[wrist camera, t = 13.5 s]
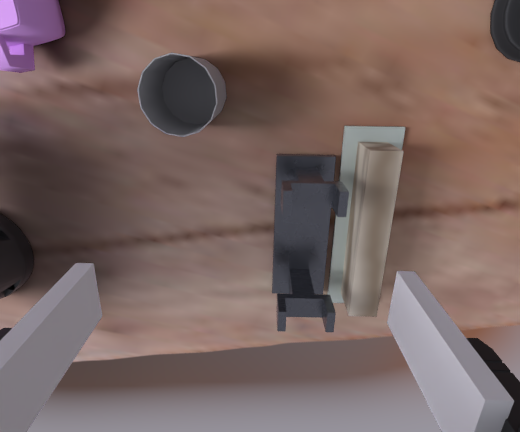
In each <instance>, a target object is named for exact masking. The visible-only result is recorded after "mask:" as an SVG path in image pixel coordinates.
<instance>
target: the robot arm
mask: <svg viewBox="0 0 520 432" xmlns="http://www.w3.org/2000/svg"><path fill="white" fill-rule="evenodd" d="M33 262H34V261H33V253H32V249H31V246H30V244H29V242H28V240H27V238H26V237H25V235H24V234H23V233H22V231H21V230H20V229H19V228H18V227H17V226H16V225H15V224H14V223H13V222H12V221H10V220H9V219H8V218H6V217H5V216H3V215H1V214H0V299H1V298H3V297H6V296H8V295H10V294H12V293H13V292H15V291H16V290H17V289H18V288H19V287H20V286H22V285H23V284H24V283H25V282H26V281H27V280H28V278H29V277H30V275H31V272H32V269H33ZM101 317H102V311H101V305H100V299H99V293H98V287H97V280H96V274H95V268H94V263H75V264H74V265H73V266H72V267H71V268H70V269H69V271H68V272H67V273H66V274H65V275H64V276H63V277H62V278H61V279H60V280H59V281H58V282H57V283H56V284H55V285H54V286H53V287H52V288H51V289H50V290H49V291H48V292H47V293H46V294H45V295H44V296H43V297H42V298H41V299H40V300H39V301H38V302H37V303H36V304H35V305H34V306H33V307H32V308H31V309H30V311H29V312H28V313H27V314H26V315H25V316H24V317H23V318H22V319H21V320H20V321H19V322H18V323H17V324H16V325H15V326H14V327H13V328H3V329H1V330H0V432H27V431H28V429H29V428H30V426H31V424H32V423H33V422H34V420H35V418H36V417H37V415H38V414H39V412H40V411H41V409H42V408H43V406H44V405H45V403H46V402H47V400H48V399H49V397H50V395H51V394H52V392H53V391H54V389H55V388H56V386H57V385H58V383H59V381H60V380H61V379H62V377H63V376H64V374H65V372H66V371H67V369H68V368H69V366H70V365H71V363H72V362H73V360H74V359H75V357H76V356H77V354H78V353H79V351H80V350H81V348H82V347H83V345H84V343H85V342H86V340H87V339H88V337H89V336H90V334H91V333H92V331H93V330H94V328H95V327H96V325H97V324H98V322H99V321H100V319H101ZM387 324H388V326H389V328H390V330H391V332H392V334H393V336H394V338H395V340H396V342H397V344H398V346H399V348H400V350H401V352H402V354H403V356H404V358H405V360H406V362H407V364H408V366H409V368H410V370H411V372H412V374H413V376H414V378H415V380H416V382H417V384H418V385H419V387H420V390H421V392H422V394H423V396H424V397H425V400H426V402H427V404H428V406H429V408H430V410H431V411H432V414H433V416H434V417H435V420H436V422H437V424H438V426H439V428H440V430H441V431H442V432H520V382H519V380H518V379H517V378H516V377H515V376H514V374H513V373H510V370H509V369H508V367H507V366H506V365H505V364H504V363H502V360H501V359H500V358H499V357H498V355H497V354H496V353H495V352H494V351H493V349H492V348H490V347H489V346H488V345H486V344H484V343H483V342H482V341H481V340H479V339H478V338H466V337H465V336H464V335H463V334H462V332H461V331H460V330H459V328H458V327H457V326H456V324H455V323H454V322H453V321H452V319H451V318H450V317H449V315H448V314H447V313H446V311H445V310H444V309H443V308H442V306H441V305H440V304H439V302H438V301H437V300H436V298H435V297H434V296H433V295H432V293H431V292H430V291H429V289H428V288H427V287H426V285H425V284H424V283H423V282H422V280H421V279H420V278H419V276H418V275H417V274H416V272H415V271H397V274H396V279H395V284H394V290H393V295H392V300H391V305H390V311H389V316H388V321H387Z"/></svg>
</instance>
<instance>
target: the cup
mask: <svg viewBox="0 0 520 432" xmlns="http://www.w3.org/2000/svg"><path fill="white" fill-rule="evenodd" d="M137 91H138V96H139V102H140V108H141V110H142V111H143V113H144V114H145V116H146V117H147V119H148V120H149V122H150V123H151V124H152V125H153V126H155V127H156V128H158V129H159V130H161V131H162V132H164V133H165V134H168V135H174V136H180V137H185V136H188V135H192V134H195V133H198V132H200V131H201V130H202V129H203V128H204V127H205V126H207V125H208V124H209V123H210V122H211V121H212V120H213V119H214V118H215V117H216V116H217V115H218V114H219V113H220V112H221V111H222V109H223V106H224V103H225V101H226V98H227V96H226V85H225V81H224V79H223V77H222V75H221V74H220V72H219V70H218V68H216V67H215V66H214V65H212V64H211V63H210V62H208V61H207V60H205V59H202V58H197V57H192V56H187V55H182V54H176V53H169V54H166V55H163V56H160V57H157V58H154V59H153V60H152V61H151V62H150V64H149V65H148V66H147V67H146V68H145V69H144V70H143V71H142V74H141V78H140V81H139V85H138V89H137Z"/></svg>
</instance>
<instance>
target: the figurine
mask: <svg viewBox="0 0 520 432" xmlns="http://www.w3.org/2000/svg"><path fill="white" fill-rule="evenodd" d="M490 33H491V36H492V39H493V41H494V44H495V46H496V48H497V49H498V50H499V51H500V52H501V53H502V54H503V55H504V56H505V57H506V58H508V59H511V60H514V61H517V62H520V0H495V1H494V5H493V8H492V11H491V25H490Z"/></svg>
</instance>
